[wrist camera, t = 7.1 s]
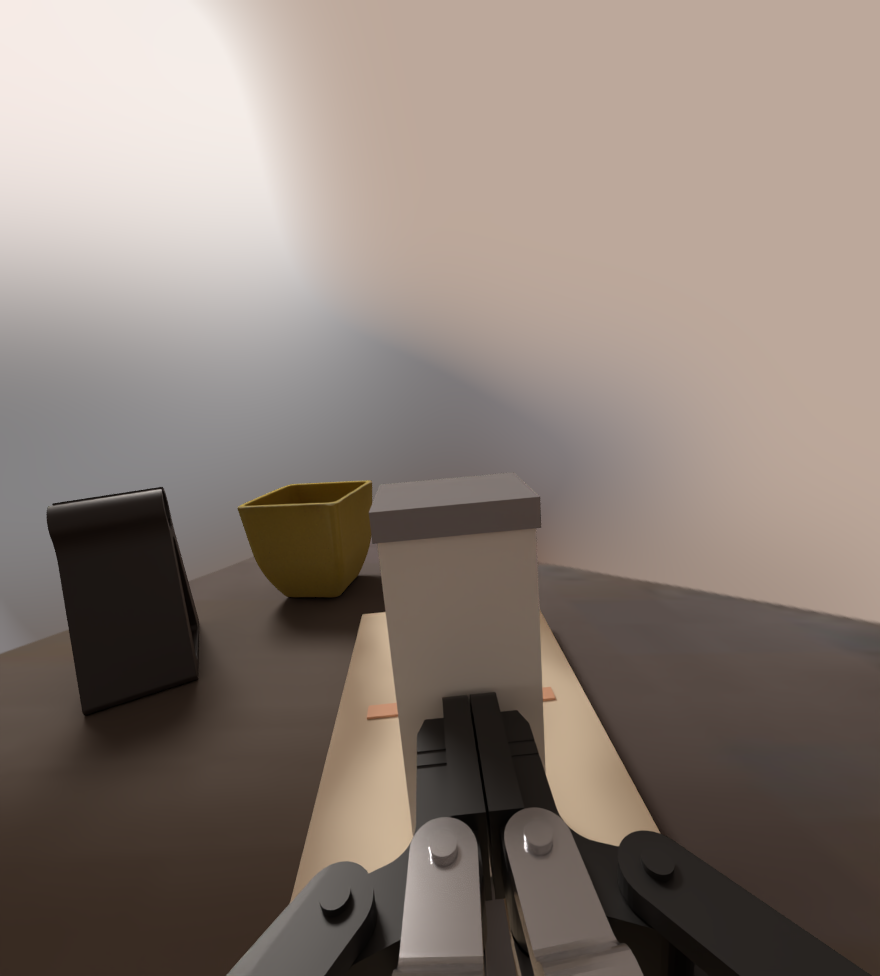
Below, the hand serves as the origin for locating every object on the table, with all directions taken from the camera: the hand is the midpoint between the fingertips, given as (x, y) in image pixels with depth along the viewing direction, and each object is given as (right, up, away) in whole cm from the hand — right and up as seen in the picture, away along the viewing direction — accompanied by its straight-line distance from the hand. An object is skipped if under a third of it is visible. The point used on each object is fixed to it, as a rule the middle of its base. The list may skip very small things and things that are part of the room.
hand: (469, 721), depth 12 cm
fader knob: (0, -5, +3) cm, 6 cm away
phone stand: (-21, -6, +19) cm, 29 cm away
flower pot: (-11, -3, +29) cm, 31 cm away
